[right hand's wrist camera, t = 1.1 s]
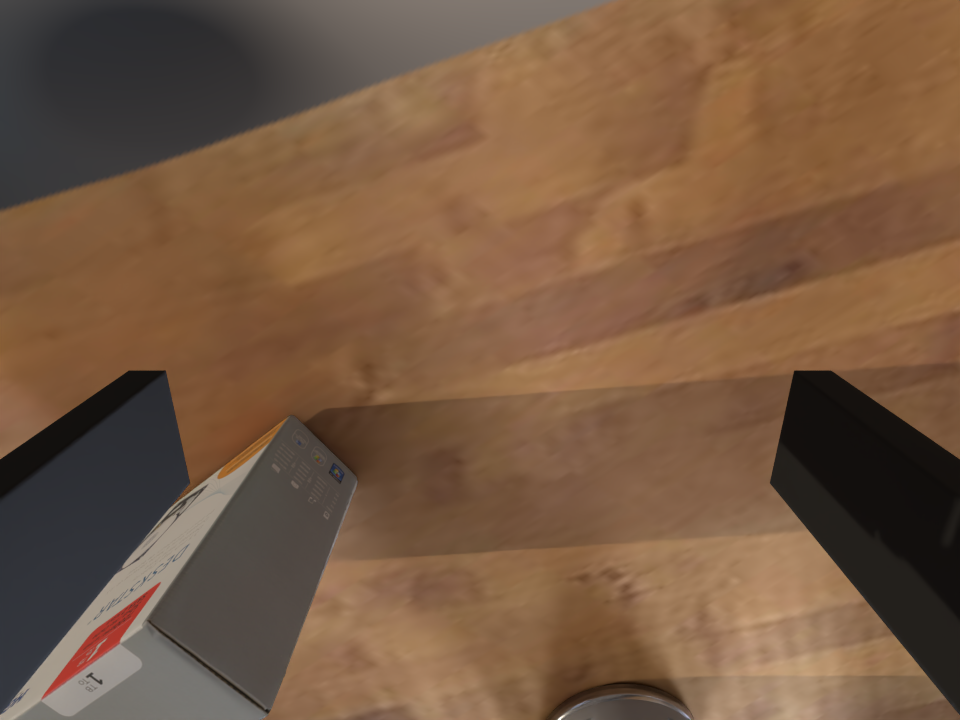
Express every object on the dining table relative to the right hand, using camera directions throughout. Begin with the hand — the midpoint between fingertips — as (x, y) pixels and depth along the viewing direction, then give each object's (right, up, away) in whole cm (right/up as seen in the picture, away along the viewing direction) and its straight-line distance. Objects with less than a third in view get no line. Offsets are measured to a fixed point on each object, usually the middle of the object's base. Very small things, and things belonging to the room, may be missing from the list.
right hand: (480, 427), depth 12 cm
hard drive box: (-18, -9, +34) cm, 39 cm away
